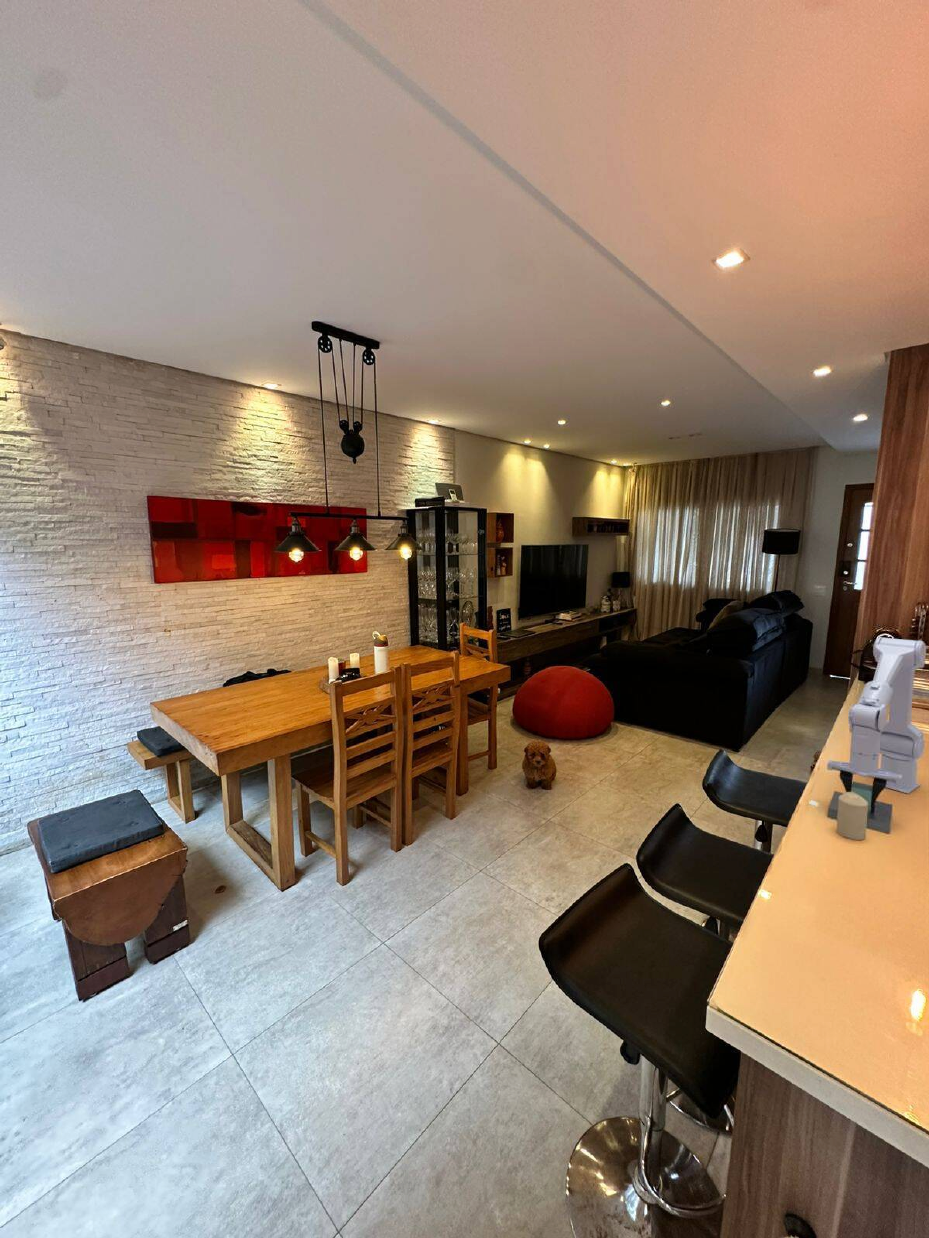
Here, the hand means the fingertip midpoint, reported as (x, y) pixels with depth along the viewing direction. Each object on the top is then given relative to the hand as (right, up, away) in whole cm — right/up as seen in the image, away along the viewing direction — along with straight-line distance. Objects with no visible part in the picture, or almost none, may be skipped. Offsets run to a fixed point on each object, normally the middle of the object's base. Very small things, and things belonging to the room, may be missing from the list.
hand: (860, 802), depth 127 cm
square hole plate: (0, -3, 0) cm, 3 cm away
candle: (-8, -5, -8) cm, 12 cm away
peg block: (0, -2, 0) cm, 2 cm away
